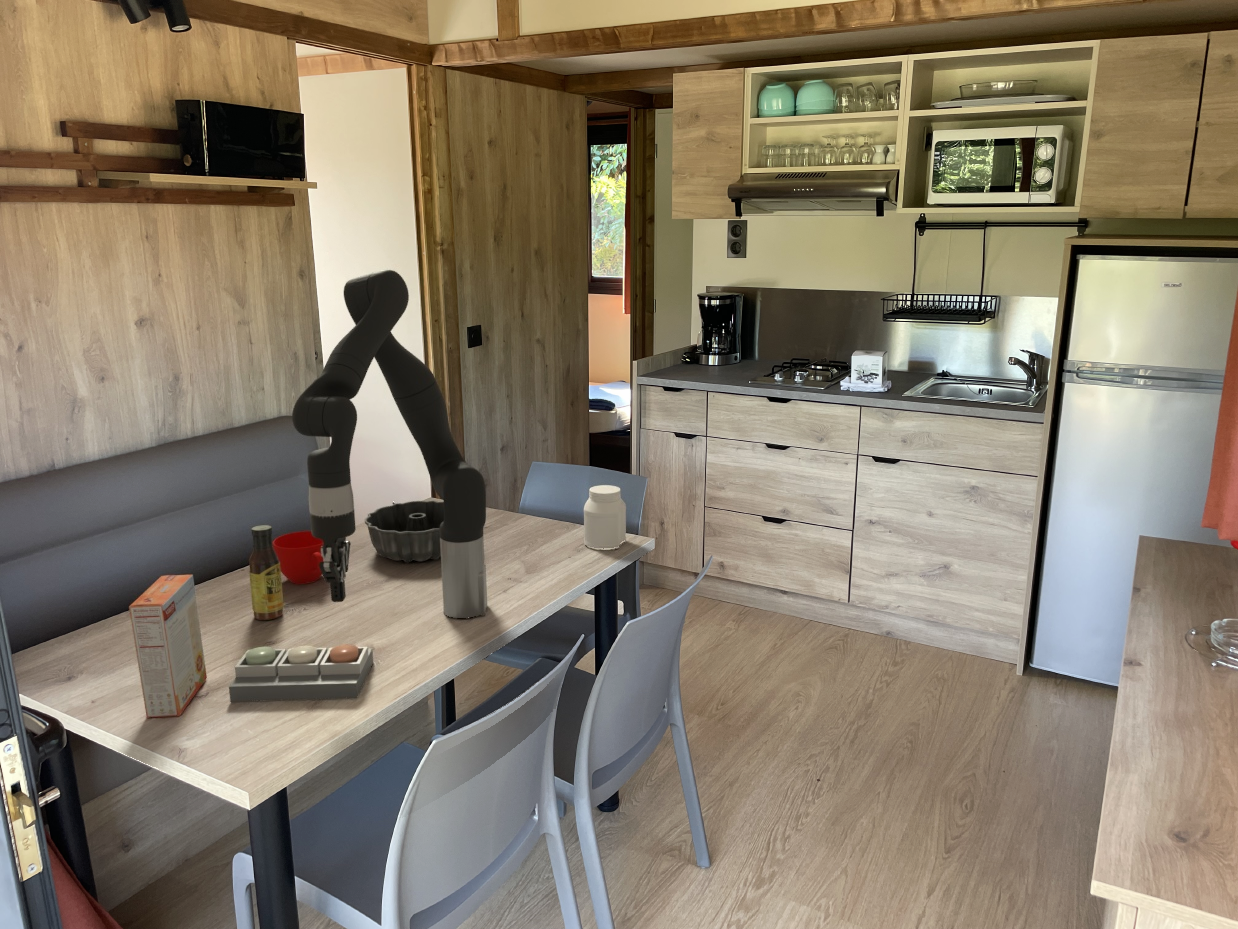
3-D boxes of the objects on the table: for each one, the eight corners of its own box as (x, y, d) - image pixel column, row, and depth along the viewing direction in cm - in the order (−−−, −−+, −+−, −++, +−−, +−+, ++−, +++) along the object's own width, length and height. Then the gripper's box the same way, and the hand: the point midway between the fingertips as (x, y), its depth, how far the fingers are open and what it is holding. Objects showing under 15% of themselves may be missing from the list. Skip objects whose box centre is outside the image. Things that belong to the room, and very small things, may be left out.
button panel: (373, 662, 176) (371, 638, 175) (357, 698, 162) (355, 672, 161) (256, 665, 175) (254, 641, 173) (230, 702, 161) (227, 676, 160)
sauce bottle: (273, 622, 194) (265, 533, 189) (247, 620, 195) (237, 531, 190) (290, 610, 200) (282, 524, 195) (264, 608, 201) (256, 522, 196)
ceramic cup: (296, 598, 207) (292, 556, 204) (267, 578, 219) (263, 538, 217) (350, 584, 215) (346, 544, 213) (319, 565, 227) (316, 527, 225)
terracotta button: (361, 651, 170) (360, 644, 170) (355, 663, 165) (354, 656, 165) (334, 652, 170) (333, 644, 170) (327, 664, 165) (326, 657, 165)
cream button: (320, 652, 170) (319, 645, 169) (313, 665, 165) (312, 657, 165) (293, 653, 170) (292, 645, 169) (285, 665, 165) (284, 658, 164)
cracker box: (174, 680, 169) (160, 574, 164) (208, 679, 169) (195, 573, 164) (142, 719, 155) (126, 604, 150) (179, 717, 156) (164, 603, 151)
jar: (596, 535, 250) (595, 482, 246) (629, 538, 247) (629, 485, 243) (580, 548, 240) (579, 493, 236) (614, 552, 236) (614, 496, 233)
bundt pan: (423, 576, 220) (421, 537, 218) (344, 558, 233) (341, 520, 231) (491, 545, 242) (489, 509, 240) (416, 529, 255) (414, 495, 253)
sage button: (279, 653, 169) (278, 646, 169) (270, 666, 165) (270, 658, 164) (251, 654, 169) (250, 647, 169) (242, 666, 164) (241, 659, 164)
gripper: (344, 519, 155) (351, 614, 159) (361, 497, 167) (367, 586, 172) (299, 519, 154) (307, 615, 158) (320, 498, 167) (327, 587, 171)
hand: (338, 600), depth 165 cm, fingers closed
